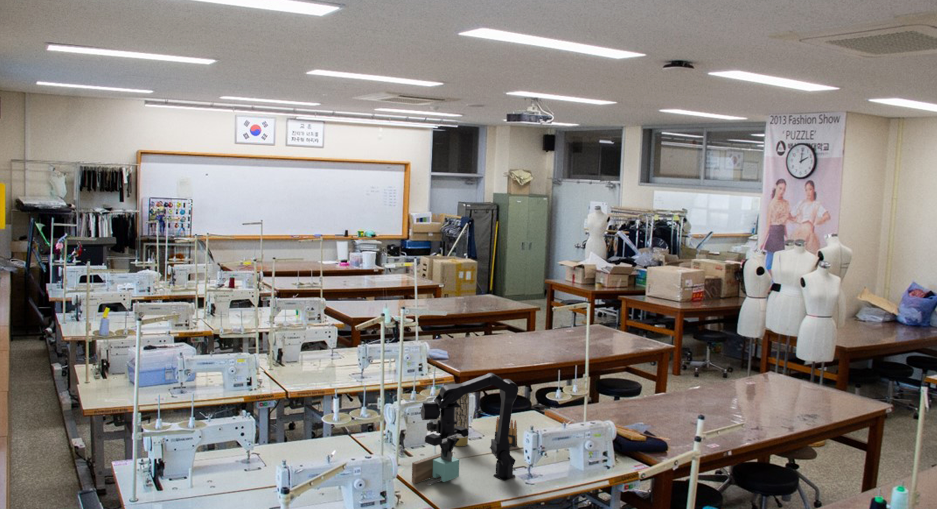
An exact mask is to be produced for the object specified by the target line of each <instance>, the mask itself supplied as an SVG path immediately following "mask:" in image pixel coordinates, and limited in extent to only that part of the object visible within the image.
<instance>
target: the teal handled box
mask: <svg viewBox="0 0 937 509" xmlns="http://www.w3.org/2000/svg"><path fill="white" fill-rule="evenodd" d="M452 452H453V451H452ZM452 452H450V451H448V453H447V456H446V457H444V456H443V453H442V450H441V449H440V453H441V457H440V458H437V459H434V460H433V479H435V478H438V477H441V481H440V482H442V483H443V482H444V483H445V482H448V481H451V480H453V479H455V478H459V477H460V459H459V458H457V457H454V456H453V457H452Z"/></svg>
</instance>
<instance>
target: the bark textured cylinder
mask: <svg viewBox="0 0 937 509" xmlns="http://www.w3.org/2000/svg"><path fill="white" fill-rule="evenodd" d="M457 403H458V404H459V405H460V407H457V408H455V421H457V424H455V427H457V426H461V427H464V428H467V429H468V430H469V418H470V417H469V416H470V415H469V412H470V393H468V394H465V395H463V396H462V397H461V398H460V399H459V400H457ZM457 438H458V439H459V441H457V443H456V445H455V446H456V447H465V446H467V445H468V440H469V435H468V436H466V437H462V435H461V434H458V435H457ZM455 446H454V447H455Z"/></svg>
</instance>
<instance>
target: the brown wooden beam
mask: <svg viewBox="0 0 937 509" xmlns="http://www.w3.org/2000/svg"><path fill="white" fill-rule="evenodd" d="M440 457H441V452H440V453H438V454H435V455H431V456H429V457H425V458H423V459H420V460H416V461H413V462H412V464H411V483H413V484H418V482H419V483H421V482H424V481H426V485H427V486H431V485H433V484H436V483H439V482H442V481H441V476H440V477H437V478H434V477H433V460H434V459H437V458H440ZM452 457H454V456H453V451H452ZM429 478H430V479H429ZM430 484H431V485H430Z"/></svg>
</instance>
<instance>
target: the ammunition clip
mask: <svg viewBox="0 0 937 509" xmlns="http://www.w3.org/2000/svg"><path fill="white" fill-rule="evenodd" d="M495 421H496V424H495V431H494V439H495V438H496V436H497V431H498V424H499V416H497V418H496V420H495ZM517 426H518V425H517V420H516V419H515V420H514V422H513V419H511V420H510V428H509V435H508V440H509V445H510V447H513V448H517V447H518V433H517V432H518V427H517Z"/></svg>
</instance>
